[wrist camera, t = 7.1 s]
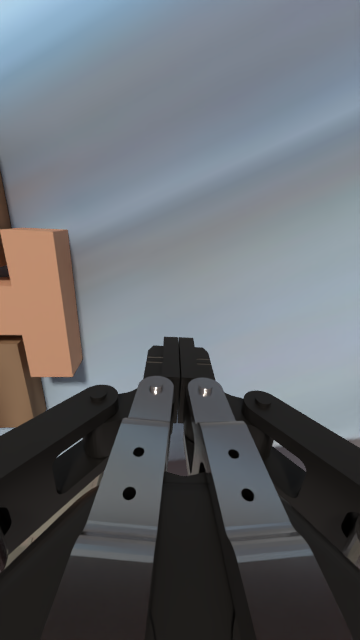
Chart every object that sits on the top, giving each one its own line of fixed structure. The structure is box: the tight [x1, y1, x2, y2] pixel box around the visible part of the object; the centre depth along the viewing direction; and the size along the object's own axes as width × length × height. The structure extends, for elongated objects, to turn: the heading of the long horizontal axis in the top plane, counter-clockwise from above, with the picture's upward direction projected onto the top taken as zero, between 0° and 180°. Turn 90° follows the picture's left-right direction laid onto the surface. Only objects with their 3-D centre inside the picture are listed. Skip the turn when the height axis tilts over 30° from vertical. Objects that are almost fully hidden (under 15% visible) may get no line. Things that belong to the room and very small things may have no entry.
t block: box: [0, 228, 83, 377], centre depth 21 cm, size 10×12×3 cm
